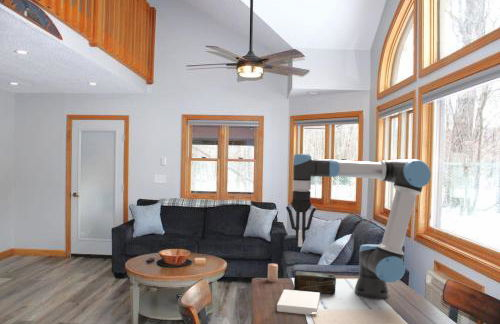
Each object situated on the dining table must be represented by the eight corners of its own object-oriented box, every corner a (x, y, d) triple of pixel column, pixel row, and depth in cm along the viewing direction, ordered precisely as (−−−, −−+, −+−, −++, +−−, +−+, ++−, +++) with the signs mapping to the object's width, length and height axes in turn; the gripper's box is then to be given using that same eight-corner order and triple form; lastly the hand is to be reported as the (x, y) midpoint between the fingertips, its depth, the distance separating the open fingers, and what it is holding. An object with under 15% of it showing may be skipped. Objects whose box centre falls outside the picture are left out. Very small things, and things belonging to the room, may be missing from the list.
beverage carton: (334, 290, 195) (335, 295, 189) (294, 287, 199) (293, 291, 192) (335, 274, 195) (336, 277, 189) (294, 270, 199) (294, 274, 192)
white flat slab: (319, 299, 183) (319, 292, 183) (316, 316, 164) (317, 308, 164) (283, 295, 187) (284, 289, 187) (276, 311, 167) (277, 304, 167)
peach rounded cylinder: (278, 279, 212) (278, 263, 212) (276, 282, 207) (276, 266, 207) (268, 278, 213) (268, 263, 213) (266, 281, 208) (267, 265, 208)
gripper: (317, 190, 177) (316, 245, 177) (287, 189, 180) (286, 243, 180) (316, 191, 170) (315, 249, 170) (285, 190, 173) (283, 246, 173)
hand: (300, 246), depth 175 cm, fingers closed
